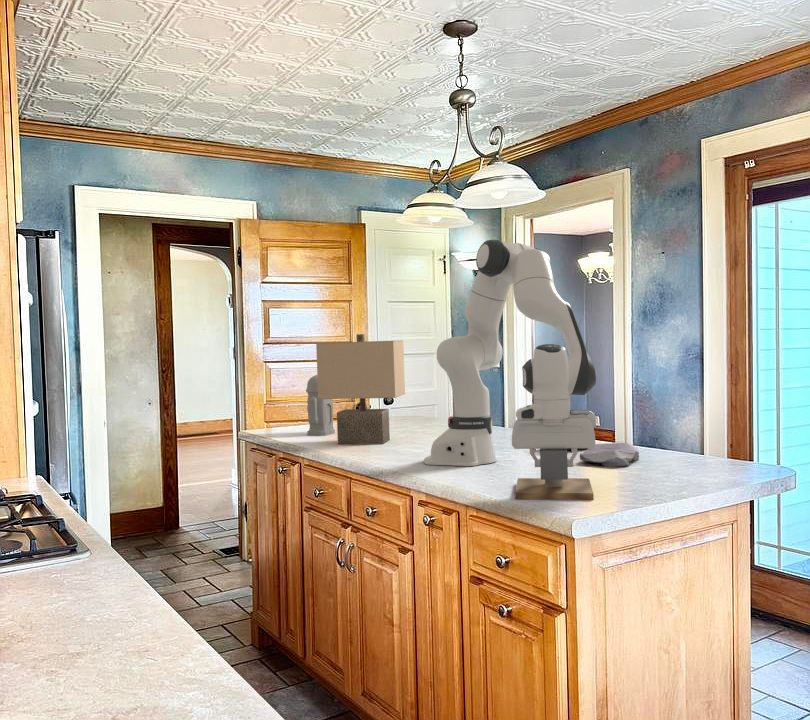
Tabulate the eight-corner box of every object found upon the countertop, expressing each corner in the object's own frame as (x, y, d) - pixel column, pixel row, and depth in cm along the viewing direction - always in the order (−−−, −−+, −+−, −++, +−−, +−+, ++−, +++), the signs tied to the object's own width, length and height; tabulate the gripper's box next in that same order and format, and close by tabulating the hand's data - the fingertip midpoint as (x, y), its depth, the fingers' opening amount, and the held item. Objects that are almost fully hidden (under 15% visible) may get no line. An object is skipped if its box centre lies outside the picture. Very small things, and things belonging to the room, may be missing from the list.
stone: (626, 469, 210) (626, 451, 209) (575, 466, 218) (575, 449, 217) (644, 458, 226) (644, 442, 226) (596, 456, 234) (596, 439, 234)
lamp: (319, 445, 276) (315, 335, 275) (334, 439, 293) (330, 335, 292) (396, 445, 270) (393, 332, 269) (406, 438, 288) (403, 333, 286)
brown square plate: (515, 499, 175) (514, 473, 175) (518, 484, 193) (517, 461, 192) (593, 499, 172) (592, 474, 171) (589, 484, 189) (588, 460, 189)
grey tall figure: (315, 431, 319) (313, 374, 319) (338, 431, 317) (336, 373, 316) (302, 436, 305) (300, 375, 304) (326, 436, 303) (324, 375, 302)
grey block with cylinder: (541, 479, 179) (540, 450, 179) (541, 472, 189) (540, 445, 188) (568, 479, 178) (567, 450, 178) (566, 472, 187) (565, 445, 187)
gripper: (594, 408, 183) (596, 464, 183) (511, 410, 187) (513, 464, 187) (596, 411, 177) (598, 468, 177) (510, 412, 180) (512, 469, 181)
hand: (553, 466), depth 182 cm, fingers closed on grey block with cylinder, 6 cm apart
